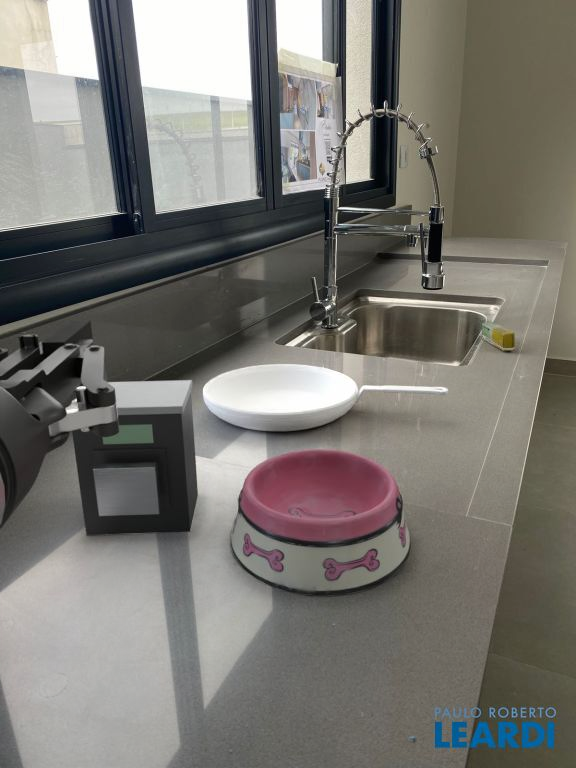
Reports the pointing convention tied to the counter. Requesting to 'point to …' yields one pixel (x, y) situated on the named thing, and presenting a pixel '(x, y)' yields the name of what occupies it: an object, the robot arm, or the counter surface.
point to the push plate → (127, 488)
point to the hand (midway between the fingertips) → (82, 338)
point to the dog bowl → (320, 523)
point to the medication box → (498, 335)
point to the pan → (288, 396)
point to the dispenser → (144, 456)
